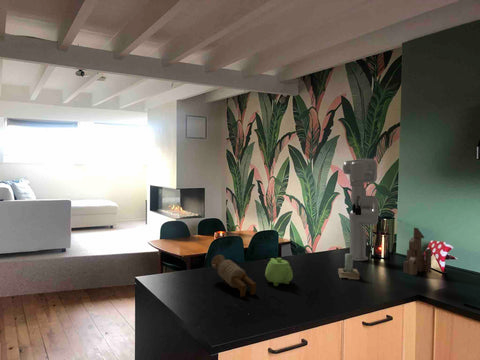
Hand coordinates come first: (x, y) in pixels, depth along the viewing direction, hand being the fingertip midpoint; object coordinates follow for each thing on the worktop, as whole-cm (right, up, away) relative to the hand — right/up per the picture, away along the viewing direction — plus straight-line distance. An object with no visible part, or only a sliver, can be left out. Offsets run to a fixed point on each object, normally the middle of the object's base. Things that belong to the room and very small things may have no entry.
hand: (356, 213), depth 225 cm
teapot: (-46, -33, -24) cm, 62 cm away
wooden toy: (+34, -33, -3) cm, 47 cm away
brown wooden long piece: (-70, -33, -33) cm, 84 cm away
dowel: (-8, -33, -12) cm, 36 cm away
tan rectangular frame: (-8, -33, -12) cm, 36 cm away
